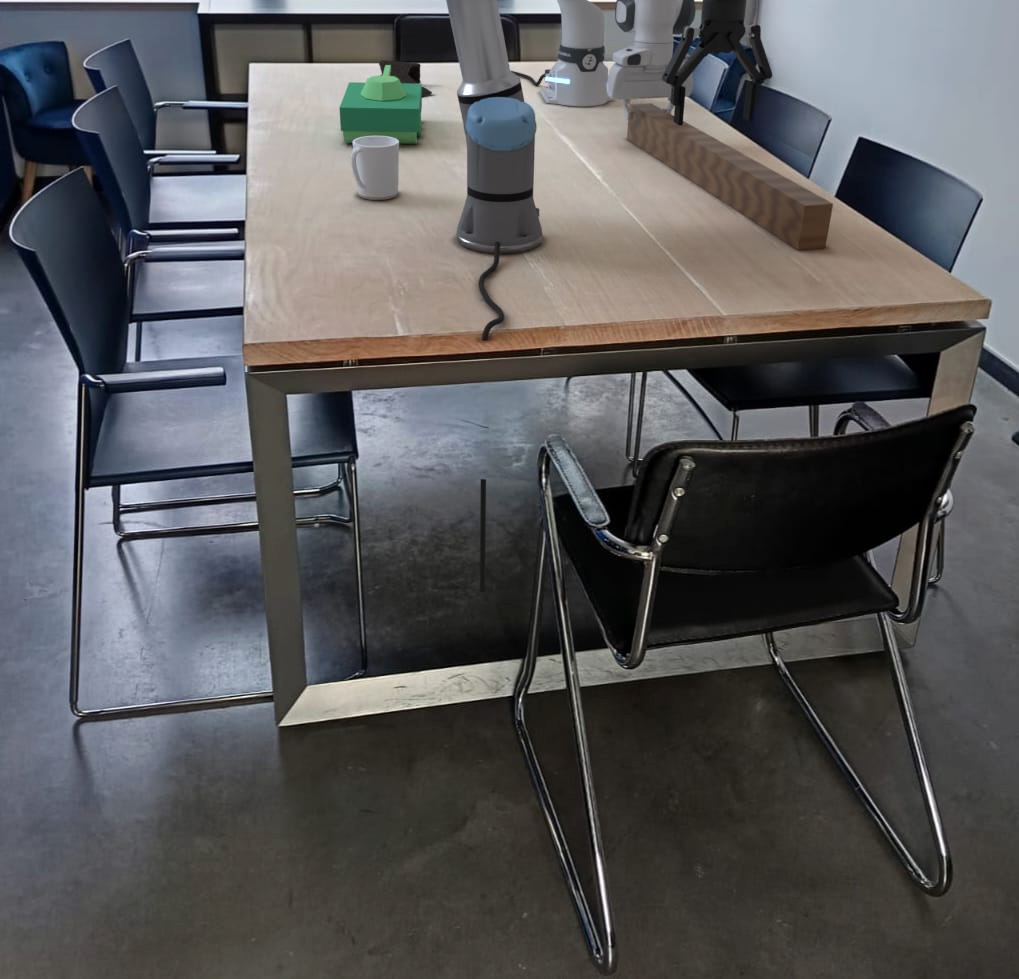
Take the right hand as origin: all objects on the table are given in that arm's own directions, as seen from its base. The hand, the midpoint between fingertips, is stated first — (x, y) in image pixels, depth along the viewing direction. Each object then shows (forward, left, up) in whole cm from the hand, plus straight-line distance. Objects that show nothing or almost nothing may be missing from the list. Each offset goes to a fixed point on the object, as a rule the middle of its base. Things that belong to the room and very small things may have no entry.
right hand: (648, 117), depth 254 cm
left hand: (+54, -12, +12) cm, 57 cm away
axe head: (-67, -44, -6) cm, 80 cm away
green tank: (-27, -57, -6) cm, 63 cm away
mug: (+27, -70, -6) cm, 75 cm away
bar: (+35, 0, -6) cm, 36 cm away
